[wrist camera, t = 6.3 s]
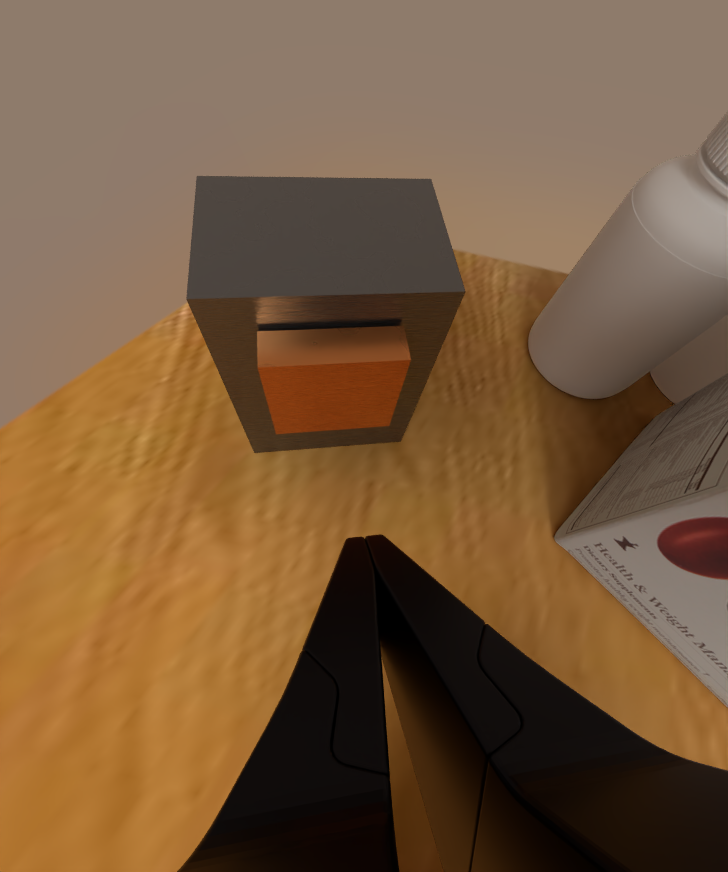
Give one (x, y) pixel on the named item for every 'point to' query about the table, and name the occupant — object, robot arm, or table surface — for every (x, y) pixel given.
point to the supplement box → (667, 532)
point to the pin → (332, 376)
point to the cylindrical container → (694, 364)
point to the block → (318, 281)
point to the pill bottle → (642, 279)
